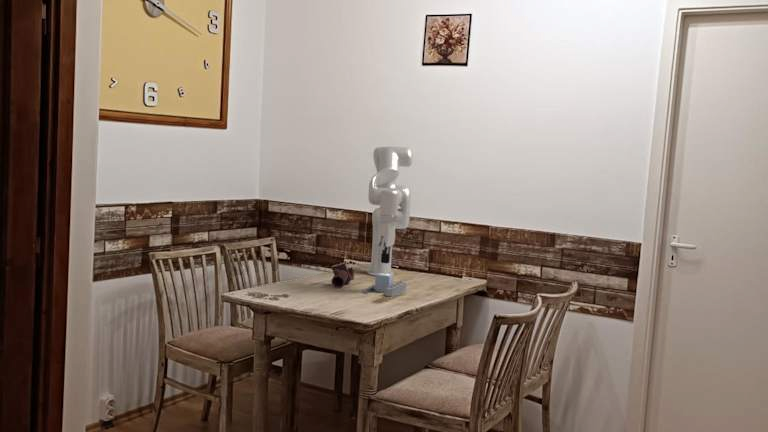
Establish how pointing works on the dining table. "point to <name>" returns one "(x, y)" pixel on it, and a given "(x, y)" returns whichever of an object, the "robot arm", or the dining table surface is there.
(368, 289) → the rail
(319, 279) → the dining table surface
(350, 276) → the brown pipe fitting
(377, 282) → the module
